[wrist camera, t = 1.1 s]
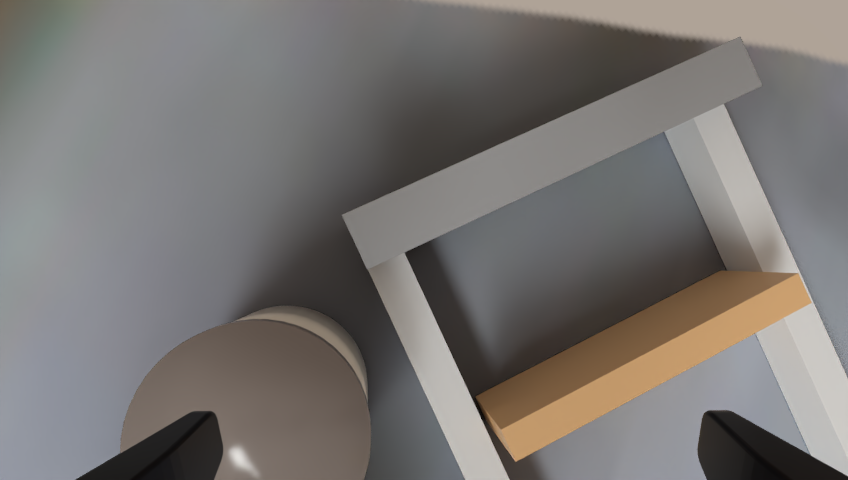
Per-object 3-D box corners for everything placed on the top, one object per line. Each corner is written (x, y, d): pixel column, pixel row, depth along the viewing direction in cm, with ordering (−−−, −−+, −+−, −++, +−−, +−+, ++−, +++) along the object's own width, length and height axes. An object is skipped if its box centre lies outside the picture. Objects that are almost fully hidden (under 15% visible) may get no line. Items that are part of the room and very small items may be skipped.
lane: (568, 701, 20) (617, 808, 16) (346, 223, 20) (341, 214, 16) (871, 515, 22) (981, 571, 18) (672, 76, 22) (740, 36, 18)
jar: (241, 504, 19) (184, 614, 13) (167, 348, 19) (77, 389, 13) (397, 424, 20) (409, 495, 14) (327, 275, 20) (310, 282, 14)
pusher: (486, 422, 20) (515, 461, 16) (475, 396, 20) (500, 430, 16) (731, 294, 22) (811, 302, 18) (720, 270, 22) (798, 272, 18)
